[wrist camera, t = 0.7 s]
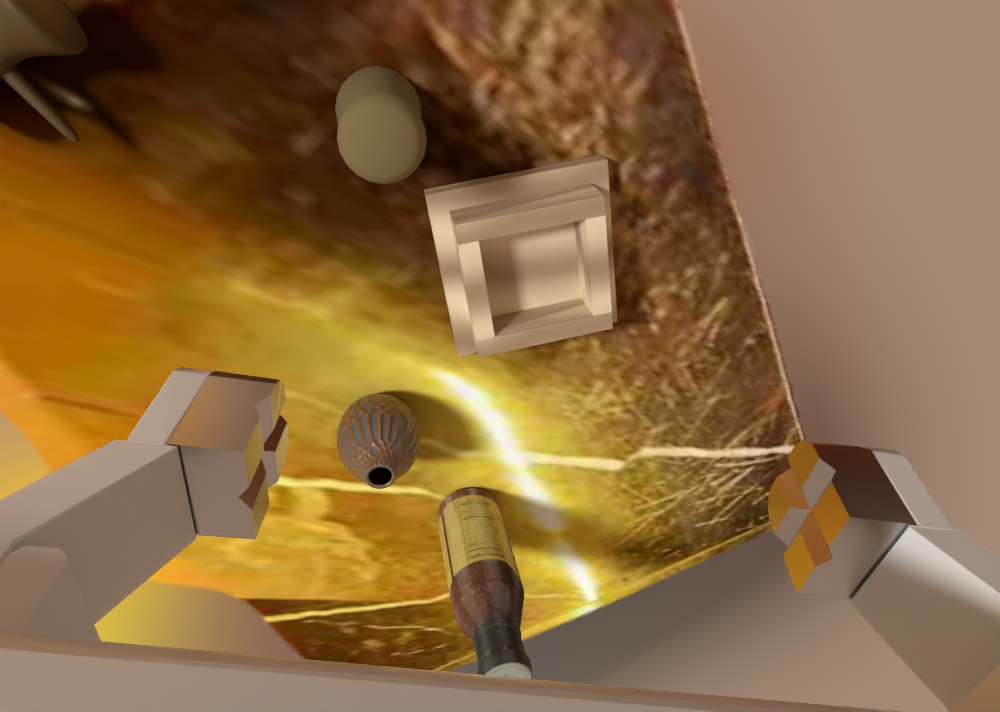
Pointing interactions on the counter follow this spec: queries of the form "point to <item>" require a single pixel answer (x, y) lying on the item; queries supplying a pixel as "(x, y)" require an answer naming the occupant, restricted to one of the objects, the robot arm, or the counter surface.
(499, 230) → the shaker holder
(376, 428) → the vase
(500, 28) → the counter surface
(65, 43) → the kendama
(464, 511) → the sauce bottle
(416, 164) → the cork
